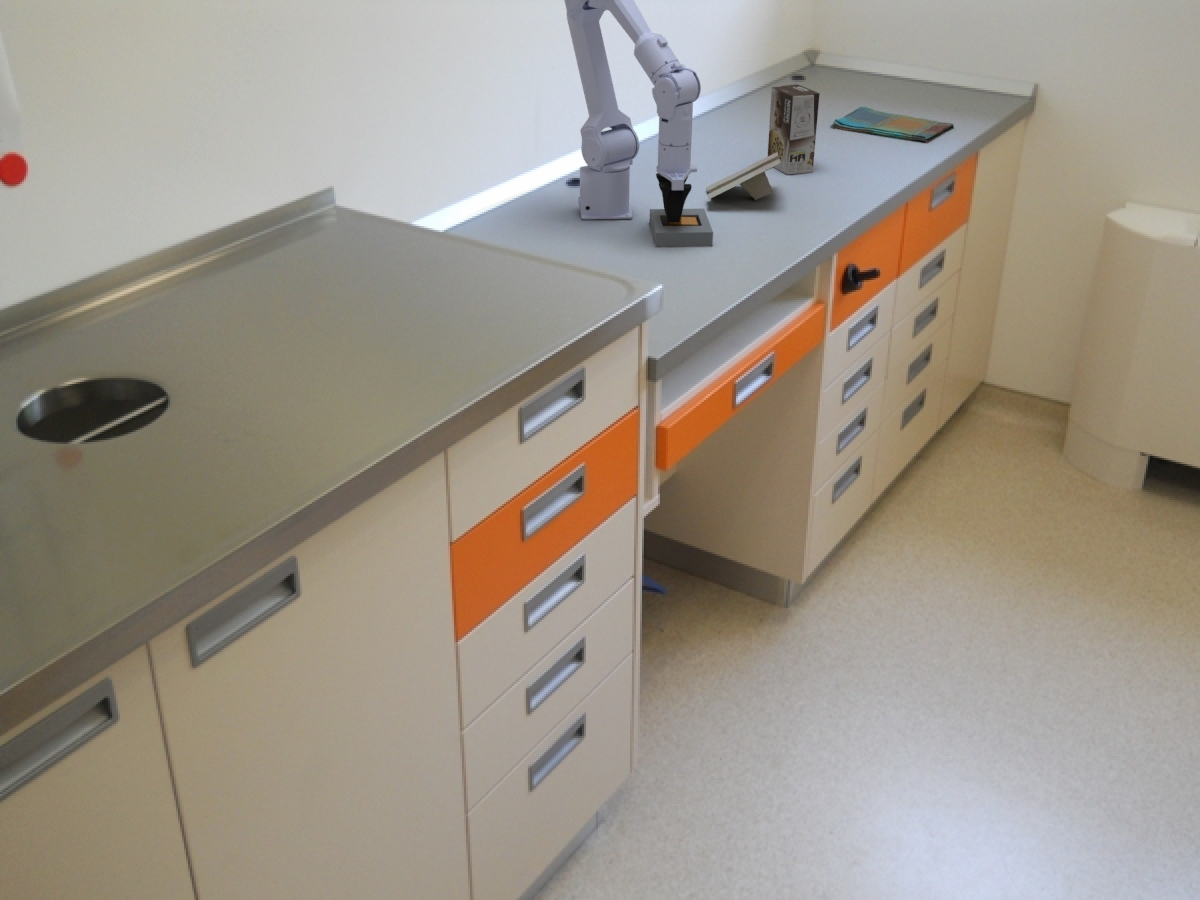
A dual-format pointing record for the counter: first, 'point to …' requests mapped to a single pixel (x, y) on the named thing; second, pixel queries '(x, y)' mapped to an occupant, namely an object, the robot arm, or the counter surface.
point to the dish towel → (891, 125)
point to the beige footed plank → (748, 179)
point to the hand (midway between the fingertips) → (672, 217)
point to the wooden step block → (684, 222)
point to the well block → (681, 229)
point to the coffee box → (793, 127)
